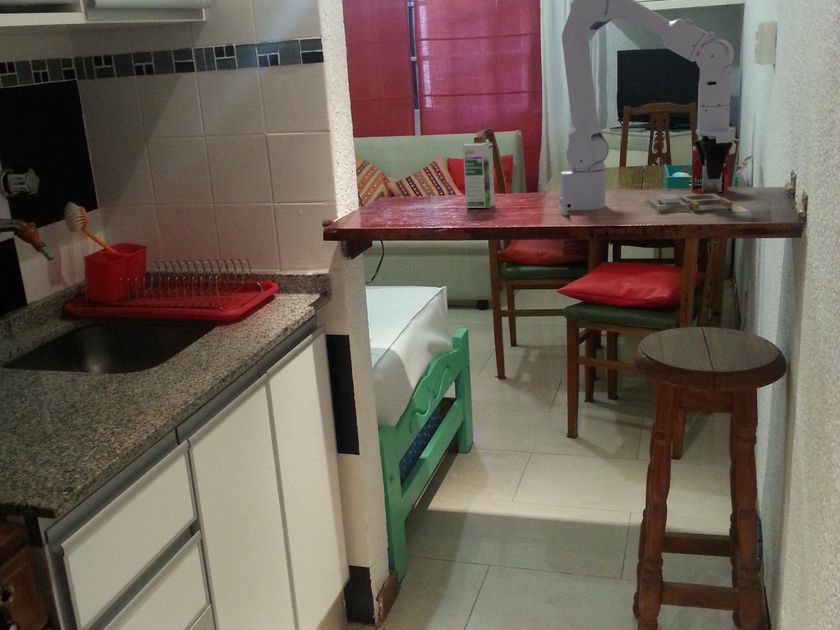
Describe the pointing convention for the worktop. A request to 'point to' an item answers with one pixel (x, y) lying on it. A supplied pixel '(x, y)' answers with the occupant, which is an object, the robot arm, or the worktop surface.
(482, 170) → the syrup box
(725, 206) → the socket board
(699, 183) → the canned food
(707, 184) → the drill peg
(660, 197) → the gray rectangular block
